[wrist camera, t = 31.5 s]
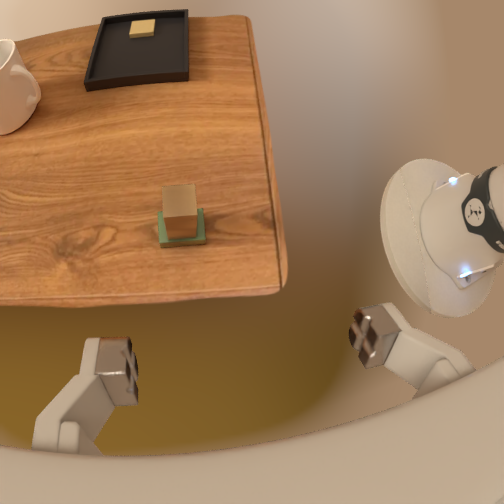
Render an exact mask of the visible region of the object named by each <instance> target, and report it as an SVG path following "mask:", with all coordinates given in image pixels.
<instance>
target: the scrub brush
mask: <svg viewBox="0 0 504 504" xmlns="http://www.w3.org/2000/svg"><path fill="white" fill-rule="evenodd" d="M162 203H163V211H160V212H158V231H159V244H160V247H161V248H165V247H177V246H189V245H202V244H205V240H206V238H205V226H204V215H203V209H202V208H201V209H197V200H196V185H195V184H184V185H170V186H162Z"/></svg>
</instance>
